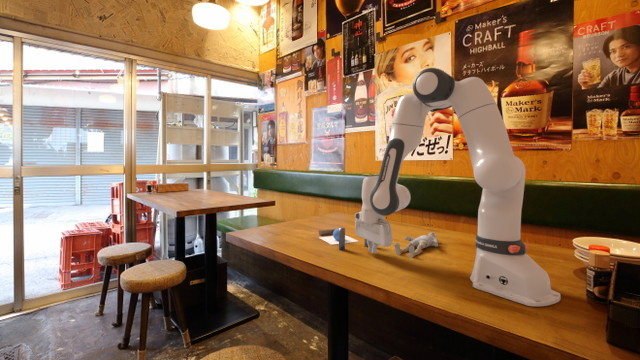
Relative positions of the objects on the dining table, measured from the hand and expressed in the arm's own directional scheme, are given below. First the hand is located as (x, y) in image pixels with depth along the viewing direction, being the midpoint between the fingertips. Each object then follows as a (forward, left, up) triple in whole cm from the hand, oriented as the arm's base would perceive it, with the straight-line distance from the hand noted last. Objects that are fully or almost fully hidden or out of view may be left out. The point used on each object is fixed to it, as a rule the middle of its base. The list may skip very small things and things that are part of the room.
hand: (372, 252), depth 118 cm
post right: (+13, -6, -2) cm, 15 cm away
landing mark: (+28, 0, -2) cm, 28 cm away
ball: (+27, 0, +1) cm, 27 cm away
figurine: (+1, -25, -2) cm, 25 cm away
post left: (+13, +6, -2) cm, 15 cm away
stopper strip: (+39, 0, -2) cm, 39 cm away
